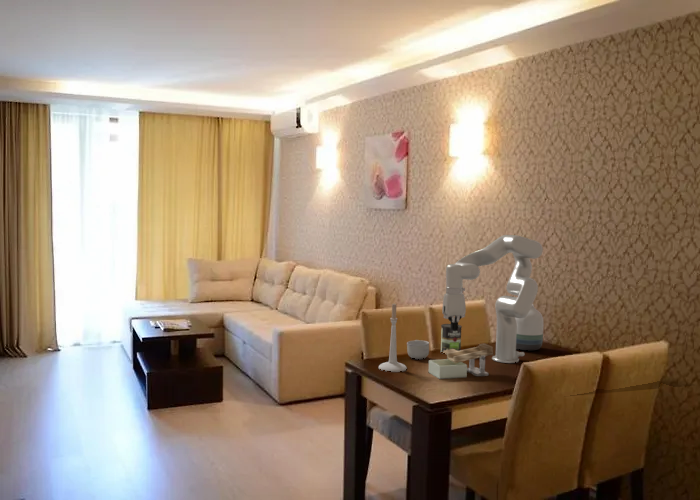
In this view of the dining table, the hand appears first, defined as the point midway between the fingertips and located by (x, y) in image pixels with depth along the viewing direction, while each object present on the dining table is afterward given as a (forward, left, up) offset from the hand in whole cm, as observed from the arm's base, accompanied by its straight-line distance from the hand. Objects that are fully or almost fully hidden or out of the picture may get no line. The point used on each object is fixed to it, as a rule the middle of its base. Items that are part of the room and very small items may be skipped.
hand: (454, 330), depth 273 cm
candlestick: (+29, -3, -17) cm, 34 cm away
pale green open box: (+9, +13, -17) cm, 23 cm away
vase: (-56, -25, -17) cm, 64 cm away
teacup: (+9, -20, -17) cm, 28 cm away
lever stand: (-5, +13, -17) cm, 22 cm away
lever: (-2, +9, -10) cm, 13 cm away
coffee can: (-12, -26, -17) cm, 34 cm away
